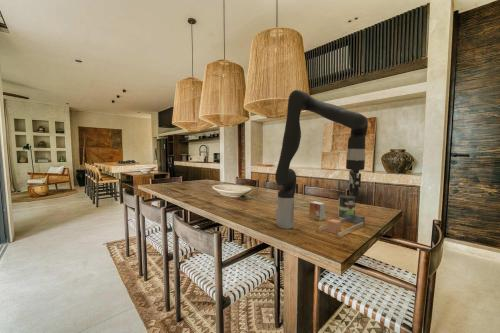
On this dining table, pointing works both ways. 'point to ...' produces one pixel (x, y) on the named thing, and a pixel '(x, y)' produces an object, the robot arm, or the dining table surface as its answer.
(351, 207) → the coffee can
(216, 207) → the dining table surface
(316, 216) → the small box
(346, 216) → the guide channel
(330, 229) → the block
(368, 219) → the dining table surface
